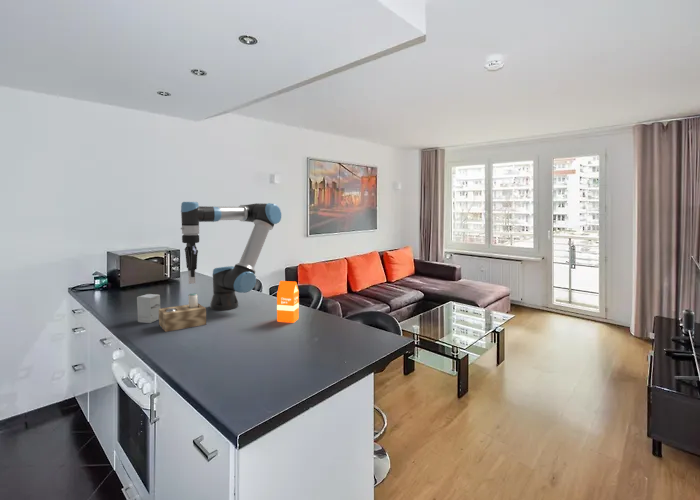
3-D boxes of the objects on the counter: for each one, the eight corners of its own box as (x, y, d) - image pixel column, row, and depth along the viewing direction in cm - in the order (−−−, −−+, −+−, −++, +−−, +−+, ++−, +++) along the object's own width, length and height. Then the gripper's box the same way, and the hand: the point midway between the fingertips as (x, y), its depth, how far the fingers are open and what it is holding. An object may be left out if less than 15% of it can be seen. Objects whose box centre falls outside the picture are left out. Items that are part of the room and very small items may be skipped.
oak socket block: (198, 318, 185) (197, 303, 184) (206, 324, 176) (205, 308, 175) (159, 325, 173) (158, 308, 173) (165, 331, 164) (164, 314, 163)
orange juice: (293, 323, 180) (293, 283, 178) (276, 321, 182) (276, 282, 180) (298, 318, 188) (298, 280, 186) (282, 317, 189) (282, 279, 187)
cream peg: (196, 309, 180) (195, 292, 179) (199, 311, 177) (198, 294, 176) (187, 310, 177) (187, 293, 176) (190, 312, 174) (189, 295, 173)
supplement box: (150, 323, 176) (149, 297, 175) (137, 322, 178) (136, 296, 176) (161, 319, 183) (160, 294, 182) (148, 318, 185) (147, 293, 184)
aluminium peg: (175, 324, 174) (174, 307, 173) (177, 326, 171) (176, 309, 170) (165, 326, 172) (165, 309, 171) (168, 328, 169) (167, 310, 168)
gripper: (178, 233, 176) (180, 282, 178) (186, 235, 166) (187, 286, 168) (194, 233, 181) (196, 280, 183) (203, 235, 171) (204, 284, 173)
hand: (192, 283), depth 176 cm, fingers closed
